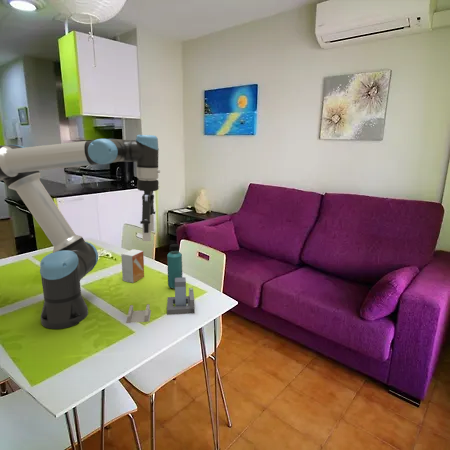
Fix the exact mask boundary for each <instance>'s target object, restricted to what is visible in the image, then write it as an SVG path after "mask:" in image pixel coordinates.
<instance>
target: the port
mask: <svg viewBox="0 0 450 450" xmlns="http://www.w3.org/2000/svg"><path fill="white" fill-rule="evenodd" d="M166 299H167V305H166V315H168V316H169V315H185V314H187V315H188V314H189V315H190V314H195V292H194V288H193V287H188V296H187V295H186V304H187V305H186V306H176V307H175V306H174V305H175V296H167V298H166Z"/></svg>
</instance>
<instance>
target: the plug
mask: <svg viewBox="0 0 450 450" xmlns="http://www.w3.org/2000/svg"><path fill="white" fill-rule="evenodd" d="M186 278H187V277H185V276H184V277H183V276H182V278H175V288H174V297H175V304H174V307H176V306H187V303H186V296H187V279H186Z"/></svg>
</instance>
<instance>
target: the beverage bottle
mask: <svg viewBox="0 0 450 450" xmlns="http://www.w3.org/2000/svg"><path fill="white" fill-rule="evenodd" d="M166 257H167V285H168V288H171V289H175V278H182V277H183V255H182V253H181V251H180V245H179V244H178V243H171V244H170V245H169V252H168V254H167V256H166Z"/></svg>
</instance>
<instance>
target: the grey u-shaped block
mask: <svg viewBox="0 0 450 450" xmlns="http://www.w3.org/2000/svg"><path fill="white" fill-rule="evenodd" d="M151 314H152V310H151V309H150V304H149V303H148V304H146V307H145V310H144V309H143V310H134V305H132V304H131V305H129V308H128V313H127V316H126V322H125V323H126V324H129V323H130V324H131V323H134V324H135V323H147V322H150V321H151V320H150V319H151Z"/></svg>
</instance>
